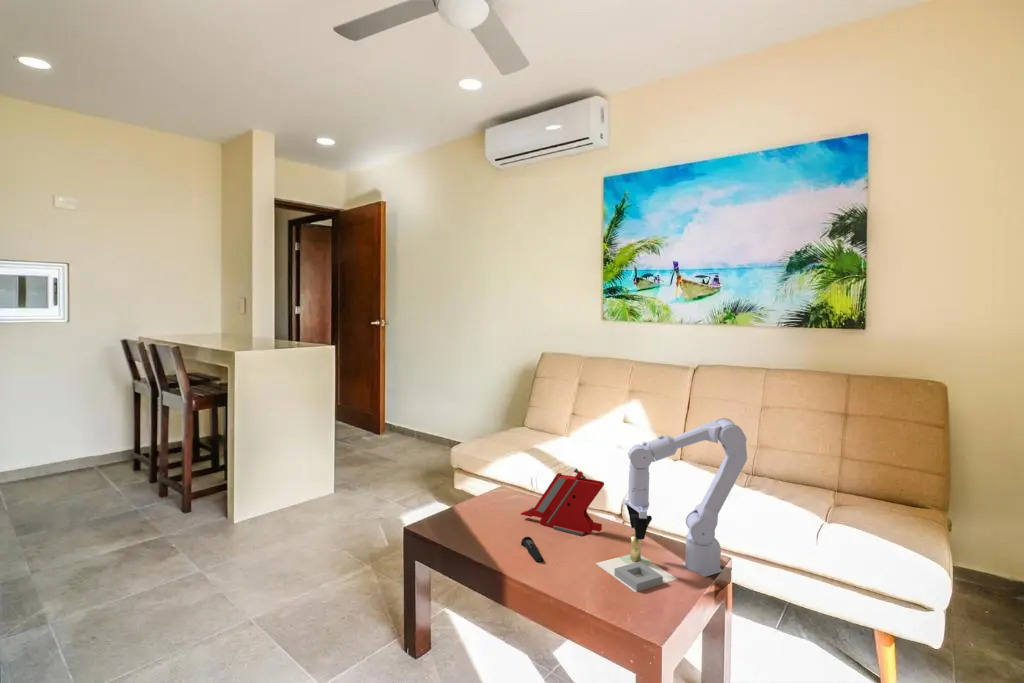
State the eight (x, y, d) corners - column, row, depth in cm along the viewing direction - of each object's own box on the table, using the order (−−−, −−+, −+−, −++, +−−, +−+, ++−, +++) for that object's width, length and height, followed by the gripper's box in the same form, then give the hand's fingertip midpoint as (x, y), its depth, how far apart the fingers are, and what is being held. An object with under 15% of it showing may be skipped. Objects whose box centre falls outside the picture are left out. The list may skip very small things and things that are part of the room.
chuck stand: (635, 555, 157) (636, 546, 157) (677, 582, 142) (678, 571, 142) (595, 566, 151) (595, 556, 150) (634, 595, 136) (635, 584, 135)
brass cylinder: (629, 557, 154) (629, 534, 153) (639, 557, 154) (640, 534, 153) (631, 562, 151) (632, 538, 150) (641, 562, 151) (642, 538, 150)
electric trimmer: (533, 568, 150) (534, 557, 150) (520, 544, 165) (520, 534, 164) (546, 567, 151) (546, 556, 151) (531, 543, 166) (531, 533, 165)
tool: (516, 517, 182) (546, 453, 174) (524, 510, 187) (553, 448, 179) (581, 564, 172) (617, 499, 164) (587, 556, 177) (622, 492, 169)
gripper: (620, 478, 158) (619, 522, 159) (629, 495, 144) (627, 543, 144) (644, 479, 158) (642, 523, 159) (655, 496, 143) (653, 544, 144)
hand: (637, 533), depth 152 cm, fingers open, 7 cm apart
